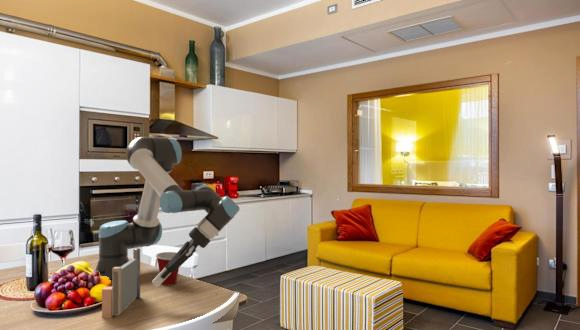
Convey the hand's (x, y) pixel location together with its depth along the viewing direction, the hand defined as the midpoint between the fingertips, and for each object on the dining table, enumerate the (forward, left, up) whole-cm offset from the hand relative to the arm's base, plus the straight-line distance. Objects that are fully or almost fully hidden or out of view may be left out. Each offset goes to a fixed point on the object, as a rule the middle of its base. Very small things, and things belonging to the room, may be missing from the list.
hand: (154, 284), depth 138 cm
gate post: (-13, -5, -8) cm, 16 cm away
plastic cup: (-26, +9, -8) cm, 29 cm away
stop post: (+1, -15, -8) cm, 17 cm away
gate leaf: (-3, -9, -7) cm, 12 cm away
